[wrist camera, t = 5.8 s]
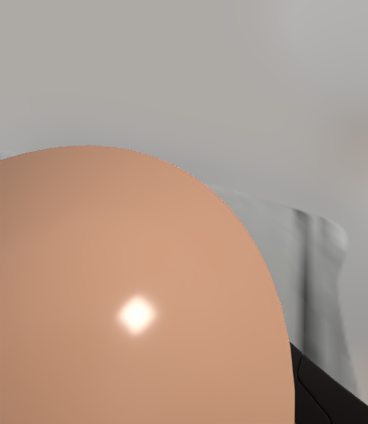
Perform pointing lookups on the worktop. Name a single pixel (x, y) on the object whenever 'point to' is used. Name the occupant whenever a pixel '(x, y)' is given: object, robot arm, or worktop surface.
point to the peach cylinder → (132, 298)
